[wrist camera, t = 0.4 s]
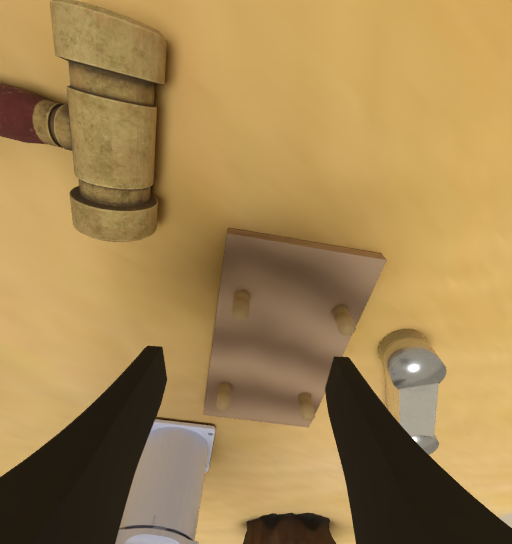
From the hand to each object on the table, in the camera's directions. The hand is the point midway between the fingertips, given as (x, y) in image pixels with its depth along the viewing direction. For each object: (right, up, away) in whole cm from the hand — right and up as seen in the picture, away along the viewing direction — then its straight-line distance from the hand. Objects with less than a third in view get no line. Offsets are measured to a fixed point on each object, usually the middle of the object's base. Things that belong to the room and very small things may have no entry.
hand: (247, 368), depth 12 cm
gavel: (-15, +14, +4) cm, 21 cm away
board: (+2, -2, +13) cm, 13 cm away
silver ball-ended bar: (+14, -7, +15) cm, 22 cm away
